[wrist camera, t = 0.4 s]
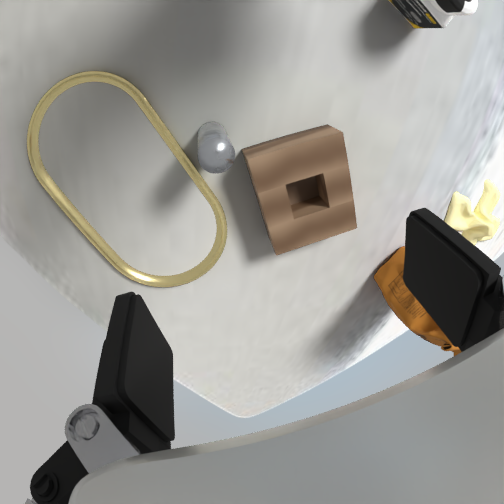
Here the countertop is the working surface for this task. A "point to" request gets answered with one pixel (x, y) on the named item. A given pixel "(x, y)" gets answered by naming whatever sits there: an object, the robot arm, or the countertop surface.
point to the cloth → (475, 214)
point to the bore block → (302, 187)
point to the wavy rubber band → (76, 215)
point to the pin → (214, 148)
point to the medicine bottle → (433, 11)
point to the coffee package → (409, 303)
